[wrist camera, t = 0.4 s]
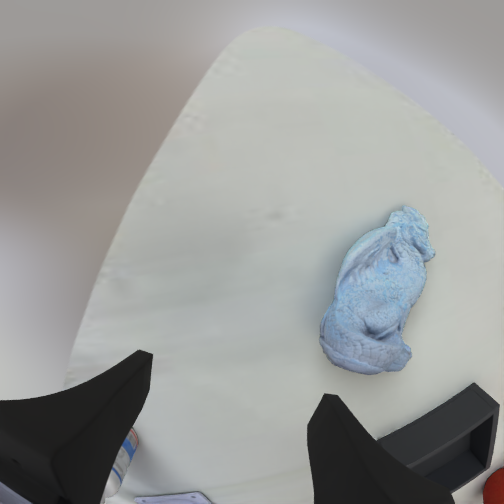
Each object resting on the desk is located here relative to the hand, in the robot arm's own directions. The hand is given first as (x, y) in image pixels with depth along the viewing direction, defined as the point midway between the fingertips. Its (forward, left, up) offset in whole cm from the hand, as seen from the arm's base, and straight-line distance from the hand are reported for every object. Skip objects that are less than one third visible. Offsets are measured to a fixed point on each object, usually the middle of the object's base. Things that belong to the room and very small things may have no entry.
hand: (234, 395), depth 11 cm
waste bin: (+12, -25, -11) cm, 29 cm away
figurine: (+10, -2, -11) cm, 15 cm away
